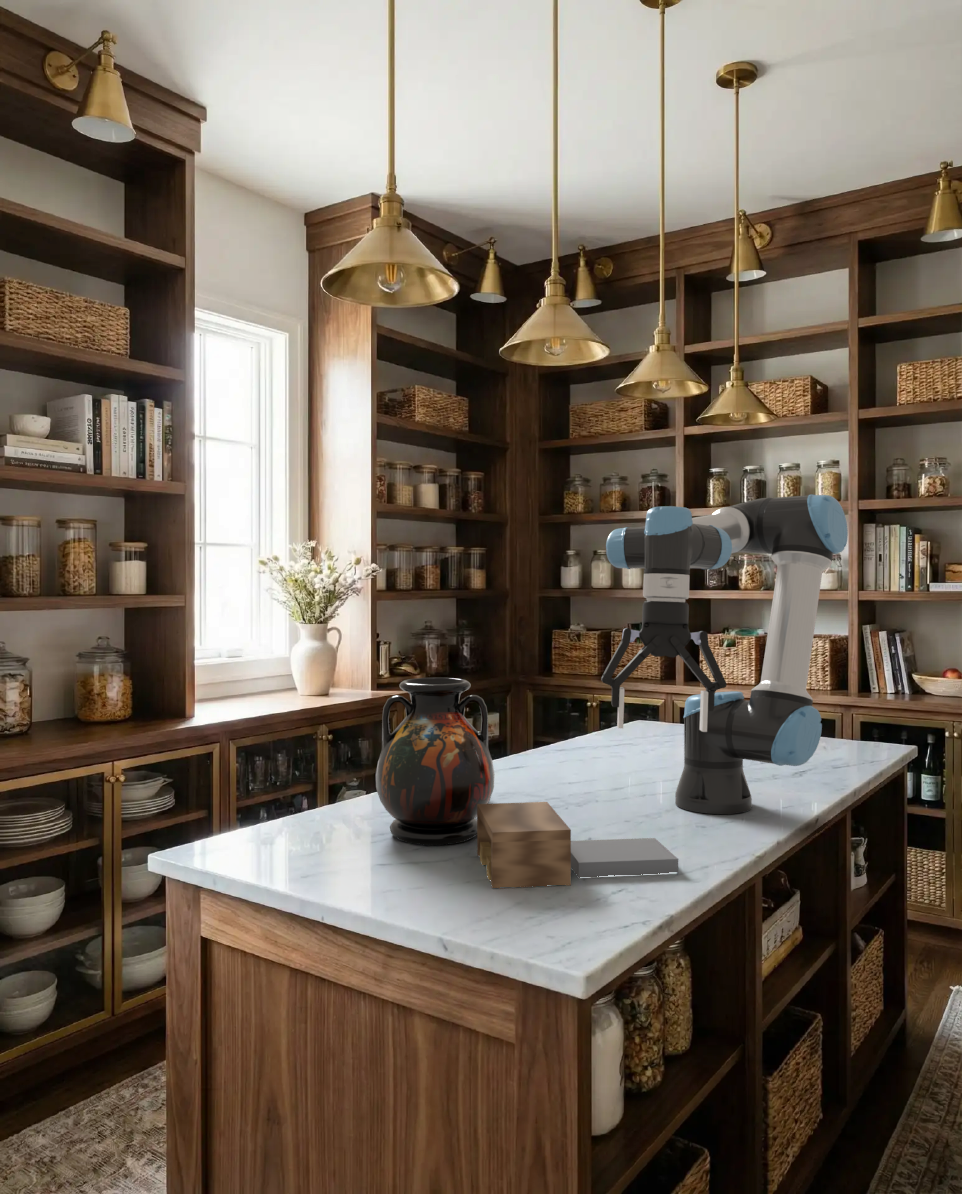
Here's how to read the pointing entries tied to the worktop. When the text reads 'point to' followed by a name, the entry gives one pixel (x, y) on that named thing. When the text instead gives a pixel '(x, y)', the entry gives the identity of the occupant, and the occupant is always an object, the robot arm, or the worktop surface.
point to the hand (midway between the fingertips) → (661, 729)
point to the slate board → (621, 857)
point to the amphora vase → (434, 764)
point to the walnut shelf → (523, 844)
